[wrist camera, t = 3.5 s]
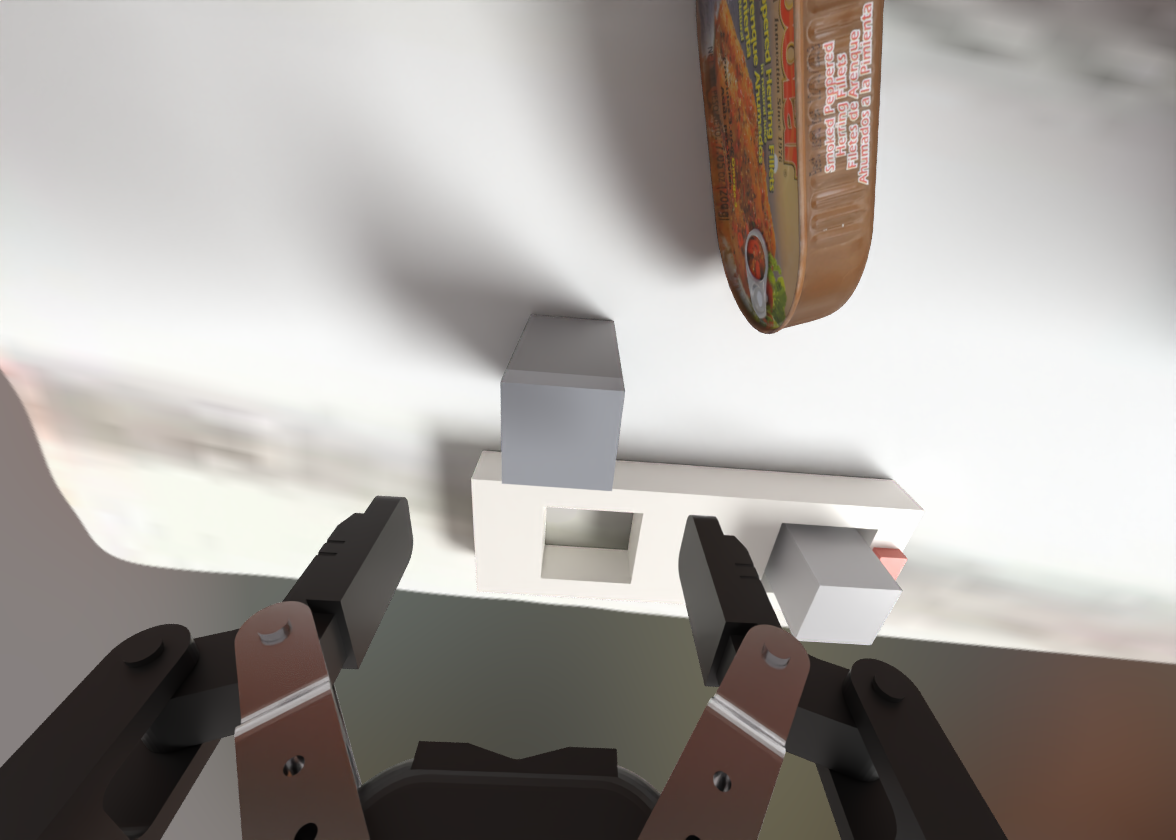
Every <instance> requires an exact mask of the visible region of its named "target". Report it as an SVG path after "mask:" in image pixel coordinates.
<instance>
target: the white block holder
mask: <svg viewBox="0 0 1176 840" xmlns="http://www.w3.org/2000/svg"><path fill="white" fill-rule="evenodd" d="M471 487H472V506H473V525H474V544H475V563H476V583H477V592H488V593H504V594H520V595H537V596H553V597H569V598H585V599H601V600H617V601H634V602H650V603H666V604H682V605H686V603H685V599H684V595H683V590H682V586H681V582H680V578H679V571H678V558H679V552H680V547H681V543H682V539H683V534H684V530H685V526H686V521H687V518H688V516H689V515H702V516H715V517H716V518H717V519H718V521H719V524H720V526H721V529H722V532H723V534H724V535H733V536H735V537H736V538H737V539H738V540H739V541H740V542H741V543H742V544H743V545H744V546H745V547H746V548H747V550H748V552H749V555H750V557H751V559H752V561H753V564H754V567H755V568H756V571H757V573H758V575H759V580H761V582H762V584H763V587H764V589H765V591H766V593H767V596H768V598H769V600H770V603H771V605H772V607H773V609H774V610H779V611H782V610H781V608H780V606H779V604H778V601H777V599H776V597H775V595H774V592H773V590H772V588H771V585H770V583H769V581H768V579H767V576H766V574H765V572H764V571H765V568H766V565H767V562H768V560H769V557H770V554H771V552H772V549H773V546H774V543H775V541H776V538H777V535H778V533H779V530H780V527H781V524H782V523H791V524H806V525H821V526H835V527H850V528H856V530H857V531H858V532H859V534H860V535H861V536H862V537H863V539H864V540H865V541H866V543H867V544H868V545H869V547H870V548H871V549H872V551H873V552H874V553H875V555H876V556H877V557H878V559H879V560H880V561H881V563H882V564H883V565H884V566H885V568H886V569H887V570H888V572H889V573H890V574H891V576H892V577H893V578H894V580H896V578H897V577H898V575H899V573H900V571H901V570H902V568H903V566H904V564H905V563H906V561H907V558H906V556H905V555H904V554H903V553H902V551H903V549H904V547H905V546H906V544H907V542H908V540H909V538H910V537H911V535H912V533H913V531H914V529H915V527H916V526H917V524H918V522H919V520H920V518H921V517H922V515H923V513H924V511H925V510H924V509H923V508H922V507H921V506H920V505H919V504H918V503H917V502H916V501H915V500H914V499H913V498H912V497H911V496H910V495H909V494H908V493H907V492H906V491H905V490H904V489H903V488H901V487H900V486H899V485H898V484H897V483H896V482H895V481H894V480H888V479H874V478H860V477H846V476H832V475H818V474H804V473H790V472H776V471H762V470H748V469H734V468H720V467H706V466H692V465H678V464H664V463H650V462H636V461H622V460H616V464H615V472H614V480H613V487H612V491H601V490H587V489H572V488H558V487H543V486H529V485H515V484H502V457H501V452H497V451H482V453H481V456H480V458H479V461H478V463H477V466H476V468H475V471H474V473H473V476H472V478H471ZM547 507H556V508H571V509H585V510H600V511H615V512H629V513H634V514H633V520H632V526H631V532H630V539H629V545H628V550H620V549H604V548H589V547H574V546H558V545H545V532H546V511H547Z"/></svg>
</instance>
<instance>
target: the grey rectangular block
mask: <svg viewBox="0 0 1176 840" xmlns="http://www.w3.org/2000/svg"><path fill="white" fill-rule="evenodd" d="M624 395H625V388H624V382H623V376H622V369H621V363H620V357H619V350H618V344H617V338H616V331H615V325H614V321H606V320H593V319H581V318H569V317H556V316H544V315H532V314H531V316H530V318H529V320H528V322H527V324H526V327H525V329H524V331H523V333H522V336H521V338H520V340H519V342H518V344H517V347H516V349H515V351H514V353H513V355H512V358H511V360H510V362H509V364H508V367H507V369H506V371H505V373H504V375H503V378H502V380H501V457H502V484H515V485H529V486H543V487H558V488H572V489H587V490H601V491H612V487H613V480H614V472H615V464H616V457H617V449H618V441H619V434H620V426H621V418H622V411H623V403H624Z"/></svg>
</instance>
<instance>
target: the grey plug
mask: <svg viewBox="0 0 1176 840" xmlns="http://www.w3.org/2000/svg"><path fill="white" fill-rule="evenodd" d="M764 572H765V574H766V576H767V579H768V581H769V583H770V585H771V588H772V590H773V592H774V595H775V597H776V599H777V601H778V604H779V606H780V608H781V610H782V613H783V615H784V617H785V619H786V622H787V624H788V626H789V629H790V631H791V633H792V635H793V636H794V637H795V638H796V639H797V640H798V641H811V642H828V643H845V644H862V645H871V644H872V643H873V641H874V639H875V637H876V636H877V634H878V632H879V631H880V629H881V627H882V626H883V624H884V622H885V620H886V619H887V617H888V615H889V614H890V612H891V610H892V608H893V607H894V605H895V603H896V602H897V600H898V598H899V596H900V595H901V593H902V591H903V590H902V589H901V588H900V586H899V585H898V584H897V582H896V581H895V580H894V578H893V577H892V576H891V574H890V573H889V572H888V570H887V569H886V568H885V566H884V565H883V564H882V563H881V561H880V560H879V559H878V557H877V556H876V555H875V553H874V552H873V551H872V549H871V548H870V547H869V545H868V544H867V543H866V541H865V540H864V539H863V537H862V536H861V535H860V534H859V532H858V531H857V530H856V528H850V527H835V526H821V525H806V524H791V523H782V524H781V527H780V530H779V533H778V535H777V538H776V541H775V543H774V546H773V549H772V552H771V554H770V557H769V560H768V562H767V565H766V568H765V571H764Z"/></svg>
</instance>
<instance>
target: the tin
mask: <svg viewBox="0 0 1176 840" xmlns="http://www.w3.org/2000/svg"><path fill="white" fill-rule="evenodd" d="M883 8H884V0H696V17H697V36H698V48H699V58H700V69H701V79H702V88H703V97H704V107H705V118H706V127H707V137H708V147H709V157H710V167H711V179H712V188H713V198H714V208H715V218H716V228H717V235H718V242H719V249H720V252H721V257H722V262H723V266H724V270H725V274H726V277H727V280H728V283H729V287H730V289H731V291H732V294H733V296H734V298H735V300H736V303H737V305H738V307H739V309H740V310H741V312H742V313H743V315H744V316H745V318H746V319H747V321H748V322H749V323H750V324H751V325H752V326H753V327H754V328H755V329H757V330H758V331H759V332H761V333H765V334H772V333H776V332H778V331H779V330H781V329H783V328H787V327H790V326H794V325H798V324H802V323H806V322H810V321H814V320H817V319H820V318H823V317H825V316H828V315H830V314H832V313H834V312H835V311H837V310H838V309H839V308H841V307H842V306H843V305H844V304H845V303H846V302H847V300H848V299H849V298H850V297H851V295H852V294H853V292H854V290H855V289H856V287H857V285H858V283H859V281H860V278H861V276H862V274H863V271H864V268H865V265H866V262H867V258H868V254H869V249H870V245H871V239H872V233H873V221H874V204H875V184H876V164H877V144H878V125H879V106H880V82H881V56H882V33H883Z"/></svg>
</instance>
